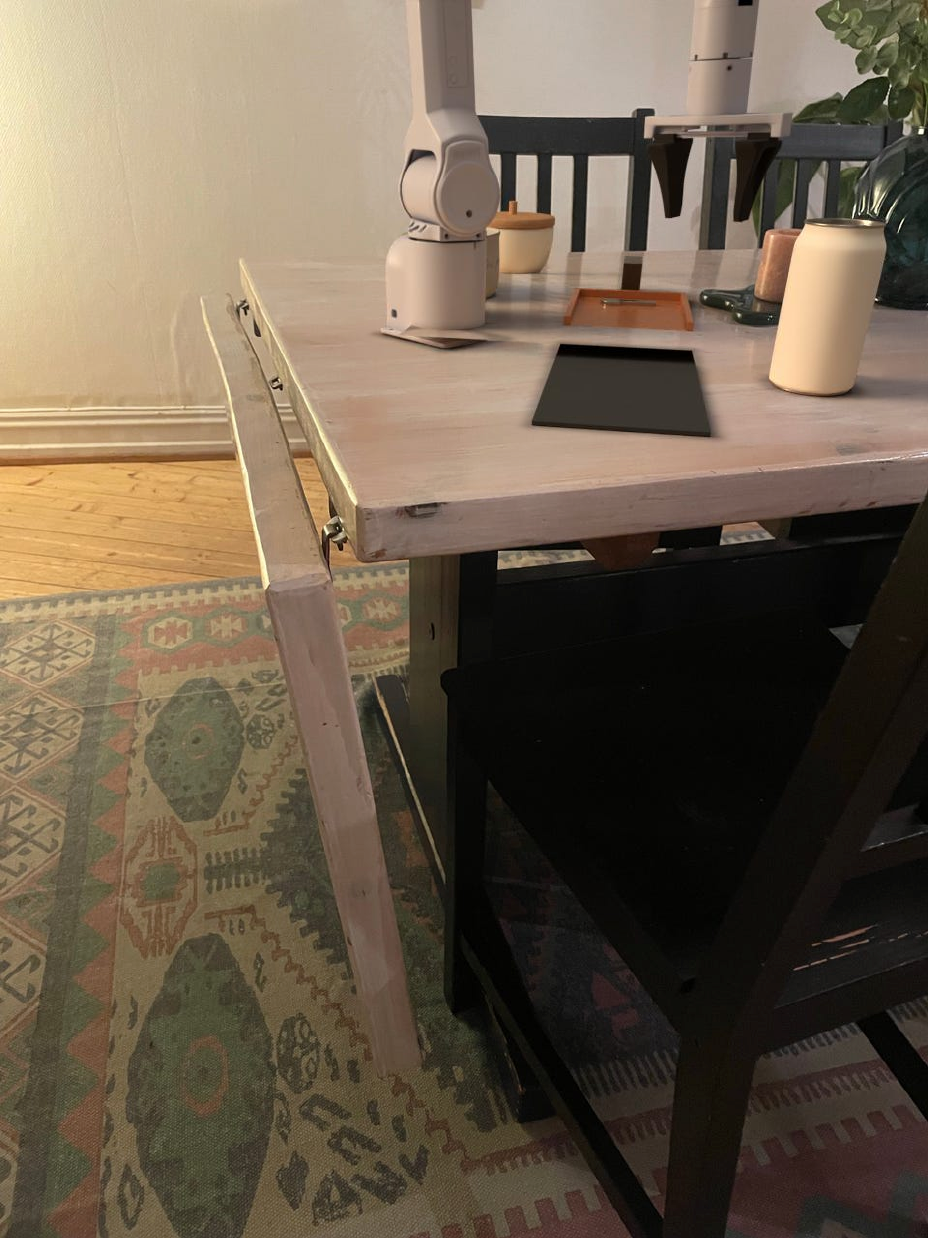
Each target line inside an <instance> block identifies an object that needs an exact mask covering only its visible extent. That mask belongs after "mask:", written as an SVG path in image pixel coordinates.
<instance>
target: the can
mask: <svg viewBox="0 0 928 1238" xmlns="http://www.w3.org/2000/svg"><path fill="white" fill-rule="evenodd" d="M803 222H804V226H803V228H802V230H801V231H800V233H799V235H798V236H797V238H796V239H795V241H794V244H793V248H792V252H791V258H790V263H789V268H788V272H787V273H788V275H787V279H786V284H785V289H784V294H783V300H782V305H781V310H780V315H779V319H778V320H779V321H778V325H777V331H776V335H775V342H774V347H773V352H772V357H771V363H770V369H769V375H768V378H769V380H770V381H771V384H772V386H774V387H776V388H777V389H780V390H783V391H785V392H790V393H794V394H799V395H807V396H816V397H818V396H819V397H827V396H828V397H832V396H840V395H844V394H847V393H848V392H849V390H850V389H852V388H854V386H855V383H856V378H857V375H858V371H859V366H860V363H861V359H862V354H863V350H864V347H865V342H866V337H867V334H868V330H869V325H870V322H871V317H872V313H873V310H874V306H875V305H874V304H875V301H876V298H877V297H876V296H877V292H878V287H879V283H880V279H881V276H882V271H883V266H884V264H885V263H884V262H885V258H886V254H887V242H886V237H885V232H884V231H885V228H886V226H887V224H886V223H885V222H882V221H877V220H869V219H859V218H858V219H857V218H841V217H840V218H839V217H836V218H835V217H815V218H805V219H804V221H803Z"/></svg>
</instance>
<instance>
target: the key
mask: <svg viewBox="0 0 928 1238" xmlns="http://www.w3.org/2000/svg"><path fill="white" fill-rule="evenodd" d="M600 303H601V304H602V305H607V306H620V305H633V306H655V307H656V301H640V300H622V299H618V298H603V299H601V302H600Z"/></svg>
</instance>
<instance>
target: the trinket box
mask: <svg viewBox="0 0 928 1238" xmlns="http://www.w3.org/2000/svg"><path fill="white" fill-rule="evenodd" d="M508 204H509V205H508V211H497V213H496V215H495V217H494V219H493V221H492V222H491V223H490V225H489V226H488V227H491V228H496V229H498V230H500V236H499V274H530V273H531V274H533V273H534V274H540V273H541V272H542V271H543V270H544V268H545V266H546V265H547V263H548V261H549V259H550V255H551V252H552V247H553V240H554V230H555V229H554V228H555V227H554V226H555V224H556V217H555V216H554V215H552V214H548V213H542V212H541V213H540V212H529V211H518V201H517V200H510V201H509V203H508Z"/></svg>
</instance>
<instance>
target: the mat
mask: <svg viewBox="0 0 928 1238" xmlns="http://www.w3.org/2000/svg"><path fill="white" fill-rule="evenodd" d="M694 356H695V355H694V352H693V350H692V349H672V348H655V347H637V346H635V347H634V346H615V345H595V344H579V343H578V344H577V343H575V344H574V343H559V346H558V348H557V351H556V354H555V357H554V360H553V362H552V365H551V368H550V370H549V373H548V375H547V379H546V381H545V384H544V387H543V390H542V392H541V395H540V397H539V400H538V402H537V404H536V408H535V411H534V414H533V416H532V419H531V425H532V426H544V427H546V426H547V427H559V428H560V427H561V428H572V429H573V428H575V429H590V430H603V431H605V430H607V431H620V432H621V431H622V432H636V433H650V434H651V433H652V434H653V433H654V434H665V435H666V434H667V435H679V436H680V435H682V436H697V437H711V435H712V432H711V427H710V422H709V418H708V414H707V409H706V405H705V400H704V396H703V392H702V388H701V383H700V378H699V374H698V370H697V365H696V361H695V357H694Z"/></svg>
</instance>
